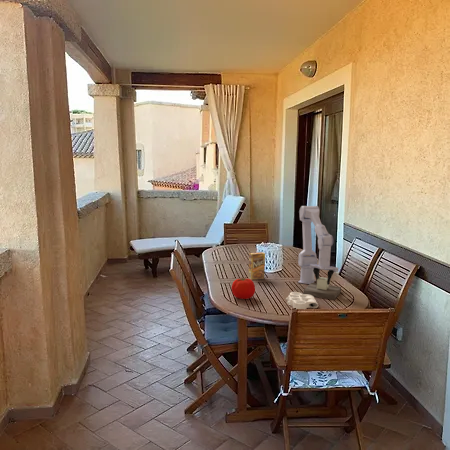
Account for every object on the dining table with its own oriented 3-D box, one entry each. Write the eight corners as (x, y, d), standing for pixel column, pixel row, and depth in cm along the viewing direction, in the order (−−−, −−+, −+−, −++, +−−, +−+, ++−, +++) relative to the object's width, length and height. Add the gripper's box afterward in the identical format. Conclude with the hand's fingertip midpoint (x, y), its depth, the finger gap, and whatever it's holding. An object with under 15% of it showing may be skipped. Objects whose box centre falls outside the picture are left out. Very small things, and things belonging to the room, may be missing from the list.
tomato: (253, 294, 210) (254, 275, 209) (256, 301, 199) (256, 281, 198) (230, 294, 210) (230, 274, 208) (231, 301, 199) (232, 281, 197)
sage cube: (319, 286, 218) (319, 277, 218) (328, 287, 216) (328, 278, 215) (316, 288, 214) (317, 279, 213) (326, 290, 212) (326, 280, 211)
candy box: (251, 280, 237) (252, 254, 235) (248, 278, 241) (248, 252, 239) (264, 278, 241) (265, 253, 239) (261, 276, 245) (261, 251, 242)
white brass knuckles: (319, 311, 189) (288, 310, 190) (312, 298, 207) (283, 297, 208) (319, 304, 189) (288, 303, 189) (312, 292, 207) (283, 291, 207)
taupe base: (311, 286, 226) (311, 282, 226) (340, 291, 219) (341, 287, 219) (303, 294, 212) (303, 290, 212) (334, 299, 205) (334, 295, 205)
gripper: (308, 257, 213) (307, 282, 214) (336, 261, 206) (335, 287, 208) (312, 255, 219) (310, 279, 221) (339, 258, 212) (338, 283, 214)
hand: (322, 283), depth 215 cm, fingers closed on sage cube, 5 cm apart
